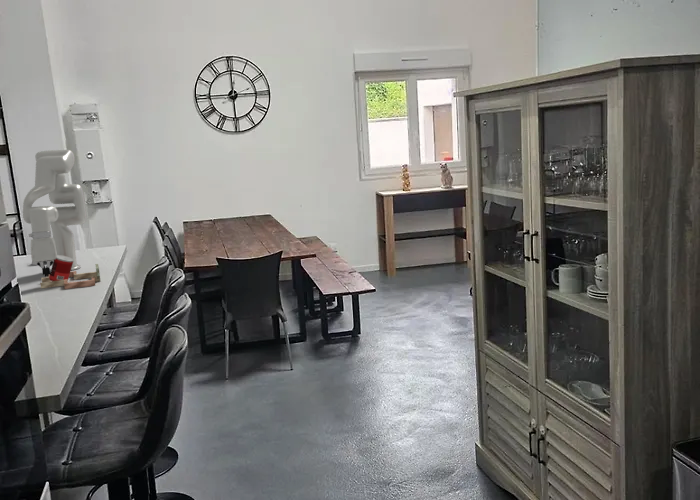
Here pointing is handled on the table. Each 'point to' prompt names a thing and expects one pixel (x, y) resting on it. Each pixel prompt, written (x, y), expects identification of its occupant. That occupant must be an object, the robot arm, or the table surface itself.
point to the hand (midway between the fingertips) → (46, 276)
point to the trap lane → (94, 275)
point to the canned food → (61, 268)
